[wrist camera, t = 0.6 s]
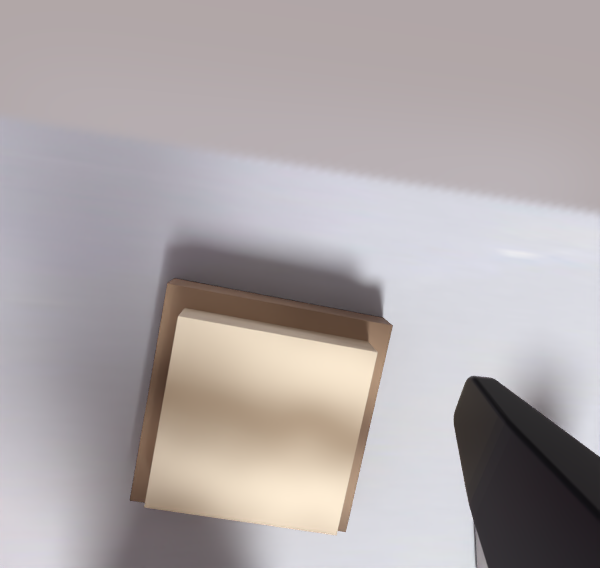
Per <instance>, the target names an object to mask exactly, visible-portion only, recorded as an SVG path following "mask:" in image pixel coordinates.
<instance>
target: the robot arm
mask: <svg viewBox="0 0 600 568" xmlns="http://www.w3.org/2000/svg"><path fill="white" fill-rule="evenodd" d="M454 428H455V433H456V439H457V444H458V449H459V455H460V460H461V466H462V471H463V476H464V482H465V487H466V492H467V497H468V502H469V506H470V510H471V513H472V517H473V520H474V524H475V527H476V530H477V534H478V537H479V540H480V543H481V547H482V550H483V553H484V557H485V560H486V563H487V567H488V568H600V457H599V456H598V455H596V454H595V453H594V452H592V451H591V450H590V449H588V448H587V447H586V446H584V445H583V444H582V443H580V442H579V441H578V440H576V439H575V438H574V437H572V436H571V435H569V434H568V433H567V432H565V431H564V430H563V429H561V428H560V427H559V426H557V425H556V424H555V423H553V422H552V421H551V420H549V419H548V418H546V417H545V416H544V415H542V414H541V413H540V412H538V411H537V410H536V409H534V408H533V407H532V406H530V405H529V404H528V403H526V402H525V401H524V400H522V399H521V398H520V397H518V396H517V395H515V394H514V393H513V392H511V391H510V390H509V389H507V388H506V387H505V386H503V385H502V384H501V383H499V382H498V381H497V380H495V379H493V378H489V377H479V376H471V377H469V378H468V379H467V380H466V382H465V385H464V387H463V390H462V393H461V396H460V398H459V401H458V404H457V406H456V409H455V413H454Z"/></svg>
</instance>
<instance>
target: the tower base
mask: <svg viewBox="0 0 600 568" xmlns="http://www.w3.org/2000/svg"><path fill="white" fill-rule="evenodd" d="M392 326H393V325H391V324H390V323H389V322H388V321H387V320H385V319H384V318H383V317H377V316H372V315H367V314H362V313H356V312H351V311H346V310H340V309H335V308H330V307H325V306H319V305H314V304H309V303H303V302H298V301H293V300H287V299H282V298H277V297H272V296H266V295H261V294H256V293H250V292H245V291H240V290H234V289H229V288H224V287H219V286H213V285H208V284H203V283H197V282H192V281H187V280H182V279H176V278H174V279H173V280H171V281H170V282H168V283H167V288H166V294H165V300H164V305H163V311H162V317H161V323H160V328H159V334H158V340H157V346H156V351H155V357H154V363H153V369H152V375H151V380H150V386H149V392H148V398H147V403H146V409H145V415H144V421H143V426H142V432H141V438H140V444H139V450H138V455H137V461H136V467H135V473H134V478H133V484H132V490H131V496H130V501H137V502H144V503H145V506H144V508H151V509H158V510H165V511H172V512H179V513H186V514H193V515H199V516H206V517H213V518H220V519H227V520H234V521H241V522H248V523H255V524H262V525H268V526H275V527H282V528H289V529H296V530H303V531H310V532H317V533H324V534H331V535H337V531H342V532H346V529H347V524H348V520H349V516H350V511H351V507H352V502H353V498H354V494H355V489H356V485H357V480H358V476H359V472H360V467H361V463H362V458H363V454H364V450H365V445H366V441H367V436H368V432H369V428H370V423H371V419H372V414H373V410H374V406H375V401H376V397H377V392H378V388H379V384H380V379H381V375H382V370H383V366H384V362H385V357H386V353H387V348H388V344H389V340H390V335H391V331H392Z"/></svg>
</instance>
